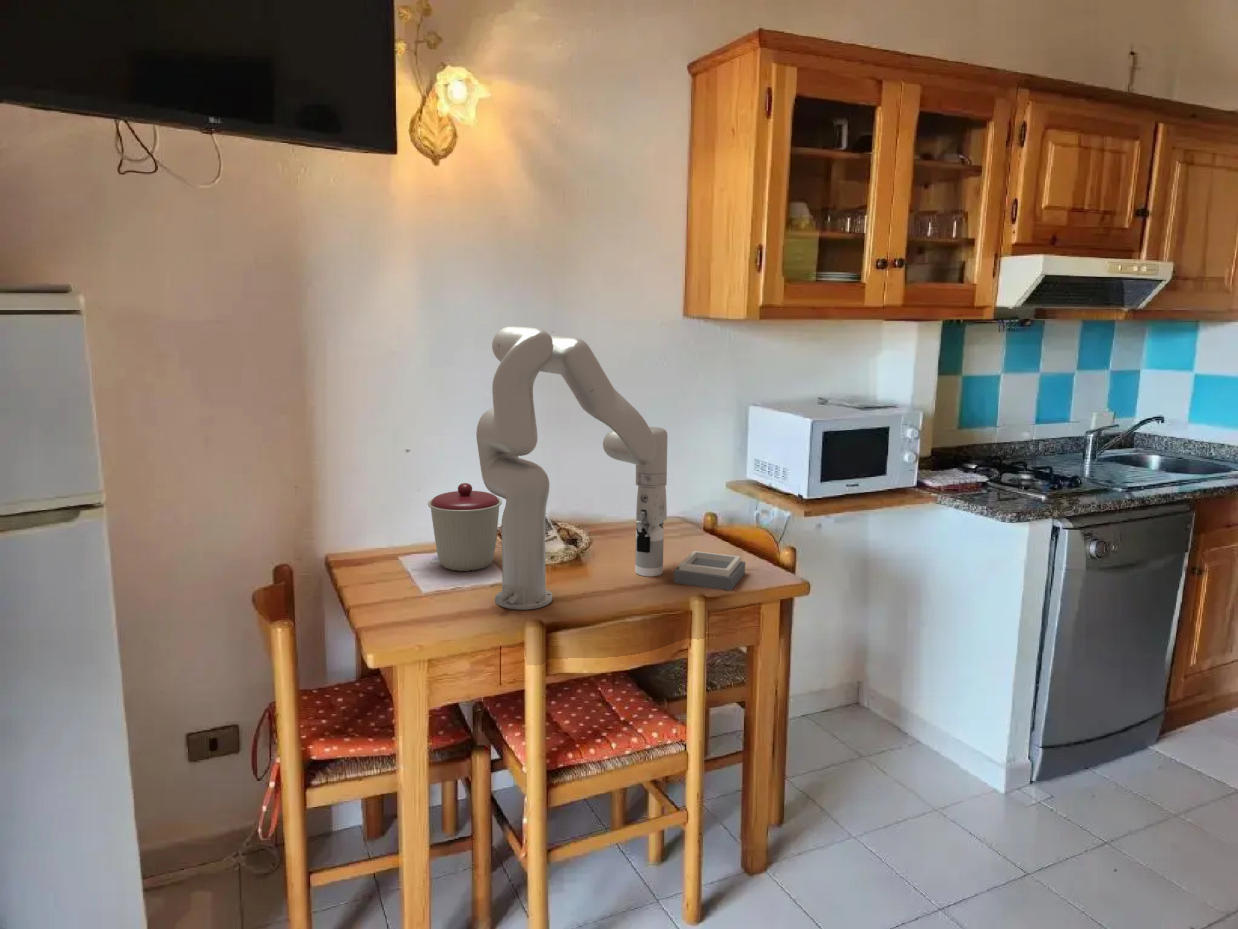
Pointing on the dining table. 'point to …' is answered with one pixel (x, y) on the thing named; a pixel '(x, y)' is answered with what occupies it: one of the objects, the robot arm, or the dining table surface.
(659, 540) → the spray bottle
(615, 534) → the dining table surface
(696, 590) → the dining table surface
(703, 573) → the stand
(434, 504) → the canister
